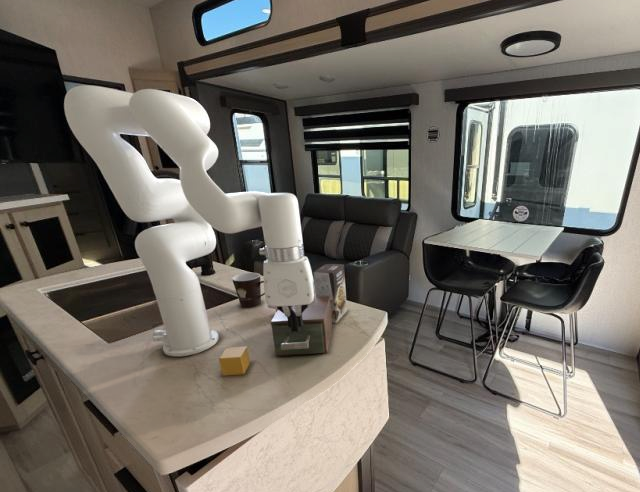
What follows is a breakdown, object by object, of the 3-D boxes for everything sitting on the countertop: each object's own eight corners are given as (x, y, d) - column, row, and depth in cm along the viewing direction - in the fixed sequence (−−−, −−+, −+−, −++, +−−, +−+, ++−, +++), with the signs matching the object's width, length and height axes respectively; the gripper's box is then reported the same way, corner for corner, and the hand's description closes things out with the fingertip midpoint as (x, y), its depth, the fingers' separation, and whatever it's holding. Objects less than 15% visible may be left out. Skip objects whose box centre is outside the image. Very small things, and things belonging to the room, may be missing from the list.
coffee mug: (232, 305, 109) (226, 277, 105) (255, 297, 115) (250, 271, 112) (251, 313, 102) (246, 284, 99) (274, 304, 109) (270, 277, 106)
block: (222, 375, 72) (218, 358, 70) (230, 364, 76) (226, 347, 75) (243, 374, 72) (240, 357, 71) (250, 362, 77) (247, 346, 75)
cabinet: (327, 352, 81) (323, 318, 77) (276, 355, 80) (270, 321, 76) (332, 326, 94) (329, 296, 91) (288, 328, 93) (284, 298, 90)
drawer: (321, 363, 75) (318, 334, 72) (271, 367, 74) (266, 337, 71) (329, 327, 92) (327, 302, 89) (288, 329, 91) (285, 304, 88)
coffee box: (337, 323, 96) (333, 273, 90) (317, 321, 97) (312, 271, 91) (347, 311, 104) (344, 264, 99) (329, 309, 105) (325, 262, 100)
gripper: (243, 259, 64) (258, 339, 70) (319, 256, 65) (327, 335, 71) (255, 250, 71) (267, 324, 77) (323, 247, 72) (330, 320, 78)
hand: (296, 329), depth 74 cm, fingers closed
